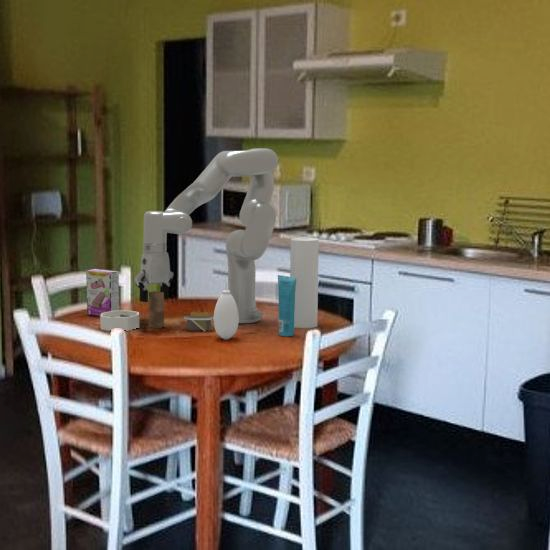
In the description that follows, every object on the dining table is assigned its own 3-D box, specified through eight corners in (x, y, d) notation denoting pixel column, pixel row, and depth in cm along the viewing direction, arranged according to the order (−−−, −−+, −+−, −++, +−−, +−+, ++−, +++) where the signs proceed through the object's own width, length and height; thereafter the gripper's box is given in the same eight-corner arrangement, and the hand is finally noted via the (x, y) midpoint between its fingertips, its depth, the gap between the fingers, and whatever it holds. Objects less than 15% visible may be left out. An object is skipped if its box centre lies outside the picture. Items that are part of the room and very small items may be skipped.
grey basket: (223, 336, 259) (223, 316, 258) (168, 335, 260) (167, 315, 259) (227, 328, 271) (227, 309, 270) (174, 327, 272) (174, 308, 271)
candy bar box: (86, 315, 290) (85, 270, 287) (95, 313, 294) (94, 268, 292) (111, 318, 284) (110, 272, 282) (120, 316, 289) (119, 270, 286)
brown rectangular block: (164, 327, 270) (163, 292, 268) (159, 329, 268) (158, 293, 266) (154, 326, 272) (153, 291, 271) (149, 327, 270) (148, 292, 269)
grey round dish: (147, 326, 272) (146, 313, 271) (119, 332, 262) (119, 319, 261) (120, 321, 279) (120, 309, 278) (92, 328, 269) (92, 314, 268)
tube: (300, 335, 260) (300, 276, 258) (292, 337, 256) (292, 278, 253) (280, 332, 264) (280, 274, 261) (272, 335, 260) (272, 276, 257)
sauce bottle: (210, 340, 252) (210, 283, 249) (218, 335, 259) (218, 279, 256) (234, 342, 250) (234, 284, 247) (241, 337, 257) (241, 281, 254)
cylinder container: (285, 323, 278) (285, 236, 273) (309, 321, 282) (310, 235, 277) (297, 329, 269) (298, 239, 265) (322, 326, 273) (323, 238, 269)
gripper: (144, 251, 257) (143, 304, 259) (181, 248, 271) (180, 298, 273) (127, 249, 261) (127, 301, 264) (164, 246, 275) (163, 295, 278)
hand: (154, 299), depth 268 cm, fingers open, 9 cm apart
